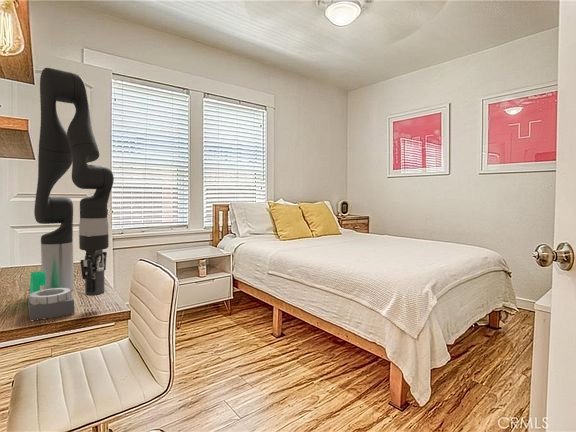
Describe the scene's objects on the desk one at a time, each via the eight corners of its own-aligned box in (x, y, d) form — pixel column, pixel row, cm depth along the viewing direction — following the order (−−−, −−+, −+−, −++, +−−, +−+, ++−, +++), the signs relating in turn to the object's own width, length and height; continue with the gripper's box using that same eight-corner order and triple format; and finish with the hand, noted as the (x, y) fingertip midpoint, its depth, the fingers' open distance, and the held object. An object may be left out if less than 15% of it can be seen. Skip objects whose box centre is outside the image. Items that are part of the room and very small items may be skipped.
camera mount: (65, 304, 104) (64, 272, 103) (34, 310, 98) (33, 276, 98) (58, 296, 112) (57, 266, 112) (29, 301, 107) (29, 269, 107)
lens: (89, 290, 102) (88, 266, 101) (106, 290, 103) (106, 266, 102) (82, 296, 97) (82, 270, 96) (101, 295, 98) (100, 270, 97)
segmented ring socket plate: (28, 311, 97) (27, 291, 96) (69, 305, 103) (68, 285, 103) (30, 321, 89) (29, 299, 89) (74, 313, 95) (73, 293, 95)
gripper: (89, 230, 105) (90, 283, 106) (69, 236, 91) (70, 297, 92) (115, 230, 106) (116, 282, 107) (98, 236, 92) (99, 296, 93)
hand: (94, 289), depth 100 cm, fingers closed on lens, 5 cm apart
